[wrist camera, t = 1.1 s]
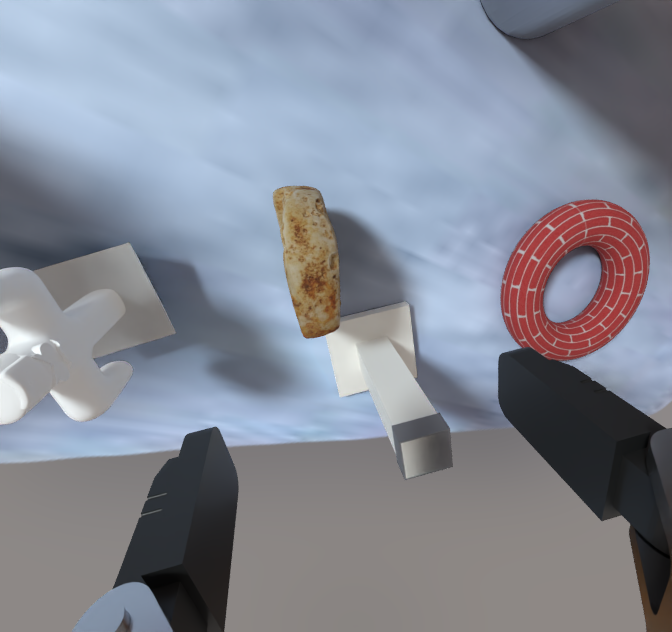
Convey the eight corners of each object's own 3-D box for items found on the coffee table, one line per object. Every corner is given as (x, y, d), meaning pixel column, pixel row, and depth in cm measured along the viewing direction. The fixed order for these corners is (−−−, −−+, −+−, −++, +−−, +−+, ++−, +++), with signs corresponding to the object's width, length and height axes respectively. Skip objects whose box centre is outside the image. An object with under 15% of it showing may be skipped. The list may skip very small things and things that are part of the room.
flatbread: (334, 301, 32) (358, 355, 23) (293, 308, 32) (301, 365, 23) (318, 178, 28) (340, 186, 19) (271, 185, 28) (270, 195, 19)
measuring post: (405, 301, 33) (487, 386, 21) (413, 372, 37) (488, 482, 24) (322, 321, 33) (353, 421, 20) (338, 391, 36) (373, 515, 23)
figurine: (110, 351, 31) (-19, 500, 17) (45, 246, 27) (-191, 332, 13) (192, 325, 31) (129, 453, 17) (139, 218, 27) (4, 275, 13)
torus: (488, 220, 32) (512, 227, 29) (633, 178, 33) (673, 180, 29) (497, 366, 39) (517, 385, 35) (617, 329, 39) (649, 344, 36)
